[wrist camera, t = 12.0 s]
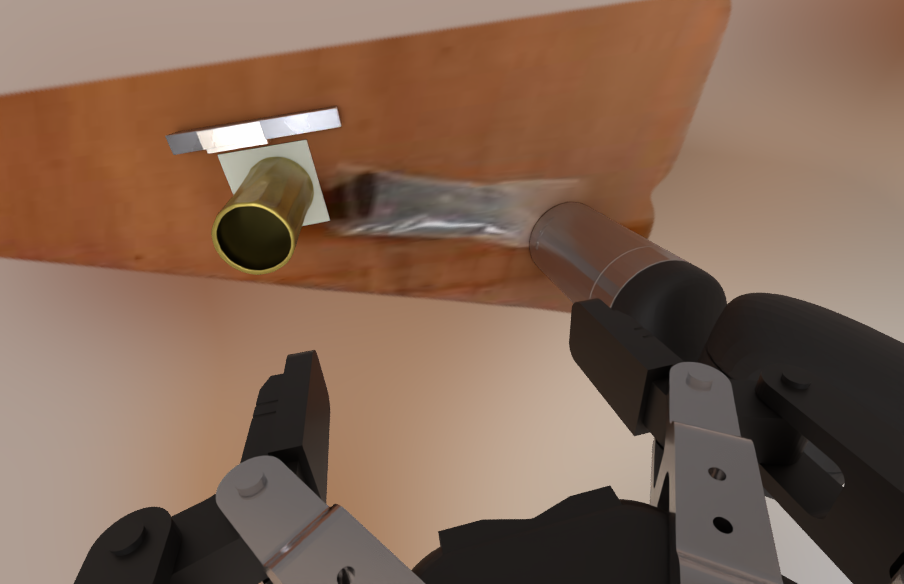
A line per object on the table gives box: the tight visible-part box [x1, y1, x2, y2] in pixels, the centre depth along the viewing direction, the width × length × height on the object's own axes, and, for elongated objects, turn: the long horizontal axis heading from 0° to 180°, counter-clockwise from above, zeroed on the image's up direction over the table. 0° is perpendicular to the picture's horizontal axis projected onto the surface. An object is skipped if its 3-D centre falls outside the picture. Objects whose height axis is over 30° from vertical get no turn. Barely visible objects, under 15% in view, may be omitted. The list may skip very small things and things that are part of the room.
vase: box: [211, 157, 314, 275], centre depth 34 cm, size 6×6×14 cm
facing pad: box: [218, 139, 330, 226], centre depth 40 cm, size 8×8×1 cm
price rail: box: [165, 106, 341, 155], centre depth 37 cm, size 14×2×3 cm, turn 98°
